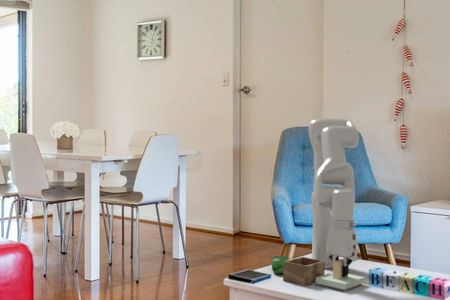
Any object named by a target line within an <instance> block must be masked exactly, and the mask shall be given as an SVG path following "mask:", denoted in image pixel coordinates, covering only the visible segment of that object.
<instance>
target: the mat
mask: <svg viewBox="0 0 450 300" xmlns="http://www.w3.org/2000/svg"><path fill="white" fill-rule="evenodd" d="M318 286H320V287H324V288H325V287H326V288H329V289H335V290H339V291H342V292H348V291H351V290H354V289H357V288H359V287H362V286H363V284H360V285H357V286H354V287H351V288H349V289H346V290H343V289H339V288H335V287H330V286H326V285H322V284H318Z"/></svg>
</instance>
